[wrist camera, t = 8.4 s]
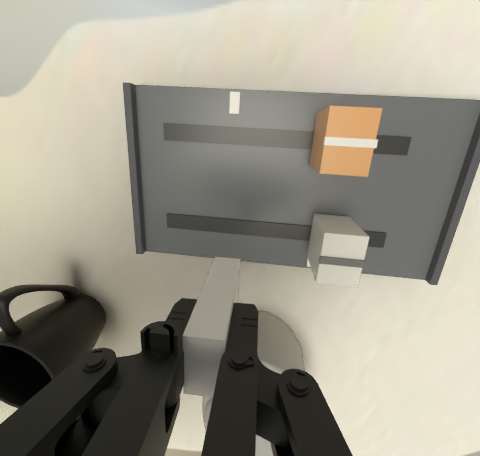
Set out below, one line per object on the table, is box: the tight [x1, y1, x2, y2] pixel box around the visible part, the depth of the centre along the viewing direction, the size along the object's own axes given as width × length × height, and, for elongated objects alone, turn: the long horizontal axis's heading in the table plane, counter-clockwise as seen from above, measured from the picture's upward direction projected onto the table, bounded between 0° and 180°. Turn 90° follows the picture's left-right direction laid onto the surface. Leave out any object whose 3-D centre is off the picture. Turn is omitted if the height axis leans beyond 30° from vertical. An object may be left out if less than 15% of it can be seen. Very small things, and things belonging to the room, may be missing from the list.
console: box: [123, 83, 480, 285], centre depth 23 cm, size 28×15×3 cm, turn 87°
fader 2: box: [307, 214, 369, 288], centre depth 21 cm, size 3×4×5 cm
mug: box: [0, 285, 106, 408], centre depth 28 cm, size 8×12×10 cm
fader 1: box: [309, 106, 383, 177], centre depth 18 cm, size 3×4×5 cm
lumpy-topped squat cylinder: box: [203, 311, 304, 456], centre depth 28 cm, size 10×13×9 cm
